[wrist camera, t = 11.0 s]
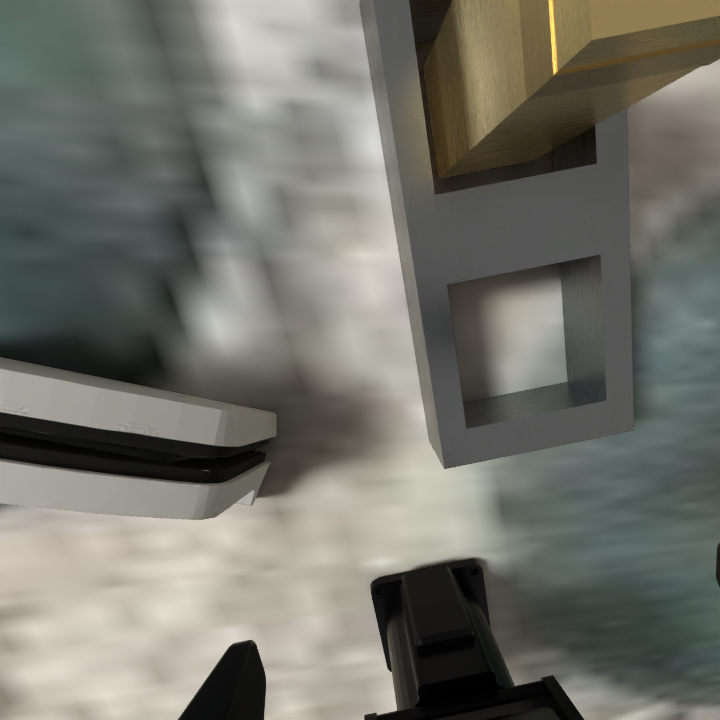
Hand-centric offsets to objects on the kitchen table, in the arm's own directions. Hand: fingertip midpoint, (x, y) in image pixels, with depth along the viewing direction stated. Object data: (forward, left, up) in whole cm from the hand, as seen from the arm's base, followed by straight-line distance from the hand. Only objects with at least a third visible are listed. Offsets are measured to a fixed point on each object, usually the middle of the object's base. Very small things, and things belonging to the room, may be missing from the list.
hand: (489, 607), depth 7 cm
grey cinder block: (+7, -6, -13) cm, 16 cm away
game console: (+2, +14, -13) cm, 19 cm away
